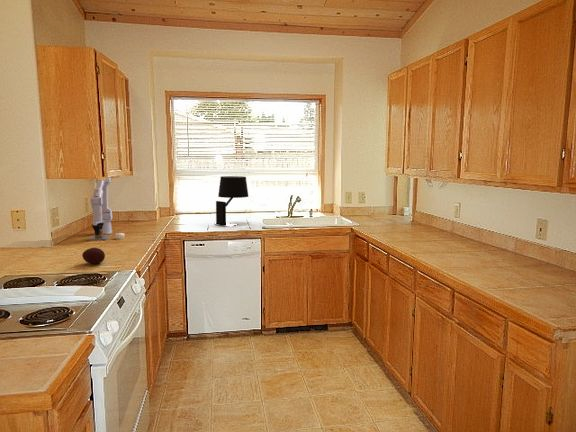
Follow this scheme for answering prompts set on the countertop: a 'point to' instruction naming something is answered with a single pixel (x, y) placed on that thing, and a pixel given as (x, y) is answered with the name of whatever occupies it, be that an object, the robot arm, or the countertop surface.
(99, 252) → the maroon ball
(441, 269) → the countertop surface
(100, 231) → the walnut block
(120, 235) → the cream egg shape
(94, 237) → the plate
